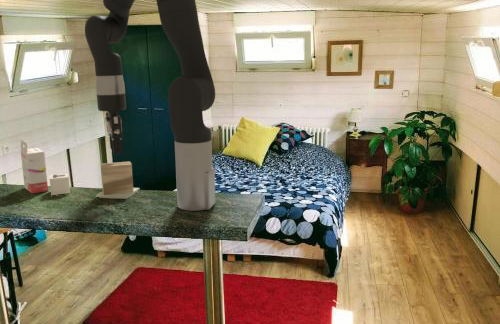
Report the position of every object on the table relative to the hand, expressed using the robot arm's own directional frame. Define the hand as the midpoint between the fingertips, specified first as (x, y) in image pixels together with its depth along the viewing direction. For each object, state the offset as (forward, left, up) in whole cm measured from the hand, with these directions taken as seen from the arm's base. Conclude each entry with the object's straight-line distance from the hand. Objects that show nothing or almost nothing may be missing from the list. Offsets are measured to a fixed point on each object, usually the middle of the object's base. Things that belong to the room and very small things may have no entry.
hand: (116, 151), depth 136 cm
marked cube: (+17, +1, -12) cm, 21 cm away
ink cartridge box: (+26, -1, -13) cm, 29 cm away
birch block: (0, 0, -12) cm, 12 cm away
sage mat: (0, 0, -12) cm, 12 cm away
